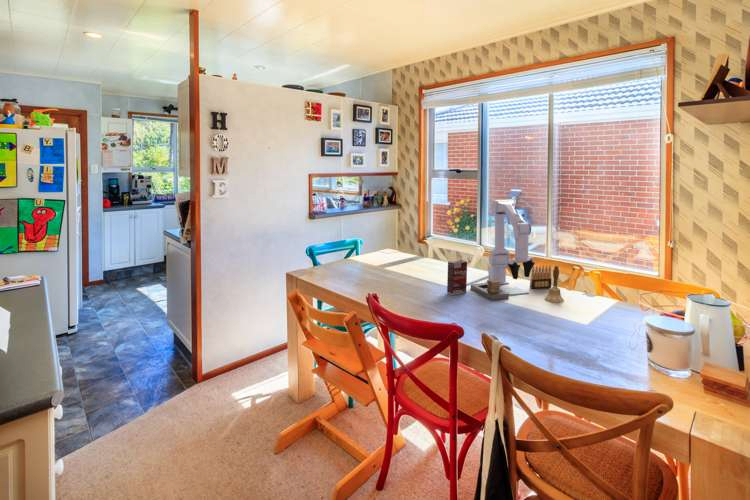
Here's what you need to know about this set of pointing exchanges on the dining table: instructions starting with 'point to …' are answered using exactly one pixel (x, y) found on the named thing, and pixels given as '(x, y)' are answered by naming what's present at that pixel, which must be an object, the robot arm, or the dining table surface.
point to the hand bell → (554, 289)
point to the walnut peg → (493, 286)
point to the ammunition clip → (540, 278)
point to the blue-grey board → (514, 291)
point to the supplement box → (457, 277)
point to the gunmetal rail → (482, 290)
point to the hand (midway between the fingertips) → (520, 277)
